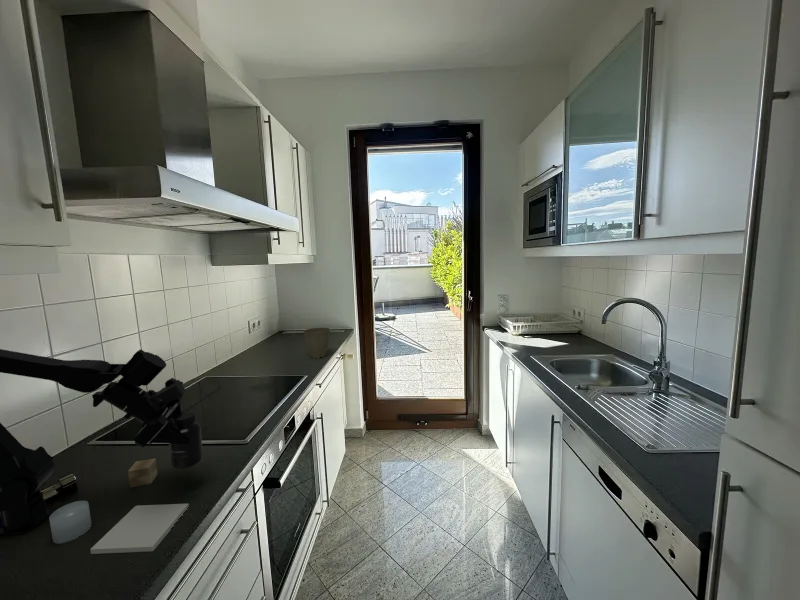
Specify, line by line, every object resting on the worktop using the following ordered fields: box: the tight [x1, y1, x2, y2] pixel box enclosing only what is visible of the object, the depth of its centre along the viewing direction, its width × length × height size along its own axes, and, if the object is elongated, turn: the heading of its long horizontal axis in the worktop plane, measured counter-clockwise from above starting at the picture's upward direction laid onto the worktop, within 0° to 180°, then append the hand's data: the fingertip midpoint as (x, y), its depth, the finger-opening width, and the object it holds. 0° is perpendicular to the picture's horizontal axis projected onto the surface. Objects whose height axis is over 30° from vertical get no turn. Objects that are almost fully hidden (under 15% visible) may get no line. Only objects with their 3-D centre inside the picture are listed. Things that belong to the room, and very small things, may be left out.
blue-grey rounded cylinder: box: [48, 500, 92, 545], centre depth 73 cm, size 6×6×5 cm
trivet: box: [90, 503, 190, 555], centre depth 74 cm, size 12×12×1 cm
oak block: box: [127, 458, 158, 488], centre depth 90 cm, size 4×4×4 cm
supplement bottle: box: [168, 411, 204, 470], centre depth 86 cm, size 7×7×12 cm
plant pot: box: [303, 327, 331, 359], centre depth 200 cm, size 15×15×16 cm
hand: (191, 435), depth 86 cm, fingers closed on supplement bottle, 7 cm apart
